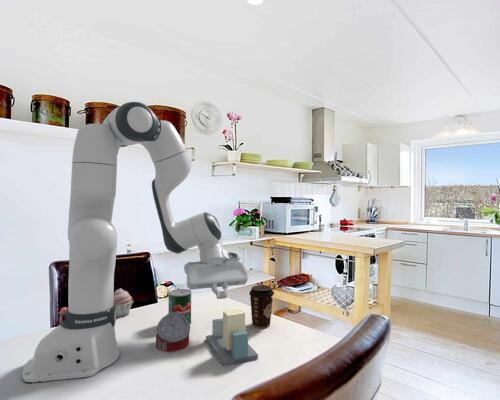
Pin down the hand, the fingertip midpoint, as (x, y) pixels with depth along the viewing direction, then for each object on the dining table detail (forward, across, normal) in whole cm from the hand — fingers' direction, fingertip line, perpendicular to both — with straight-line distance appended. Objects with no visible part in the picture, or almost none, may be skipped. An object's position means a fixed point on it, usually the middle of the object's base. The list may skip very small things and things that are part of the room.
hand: (222, 297), depth 100 cm
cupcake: (-15, -29, +34) cm, 47 cm away
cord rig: (+14, 0, +4) cm, 15 cm away
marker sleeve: (+15, 0, +1) cm, 15 cm away
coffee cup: (+5, +16, +13) cm, 22 cm away
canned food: (+8, -14, +11) cm, 20 cm away
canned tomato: (-3, -10, +22) cm, 24 cm away
